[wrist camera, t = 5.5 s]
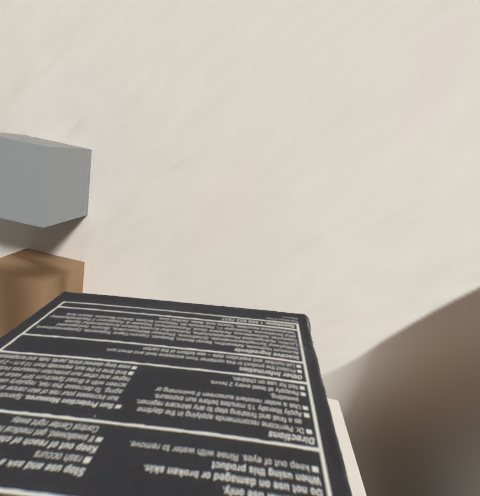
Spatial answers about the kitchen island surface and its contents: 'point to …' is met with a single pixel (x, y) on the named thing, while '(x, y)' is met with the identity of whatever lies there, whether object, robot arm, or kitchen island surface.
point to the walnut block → (34, 284)
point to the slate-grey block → (42, 180)
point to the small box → (164, 402)
